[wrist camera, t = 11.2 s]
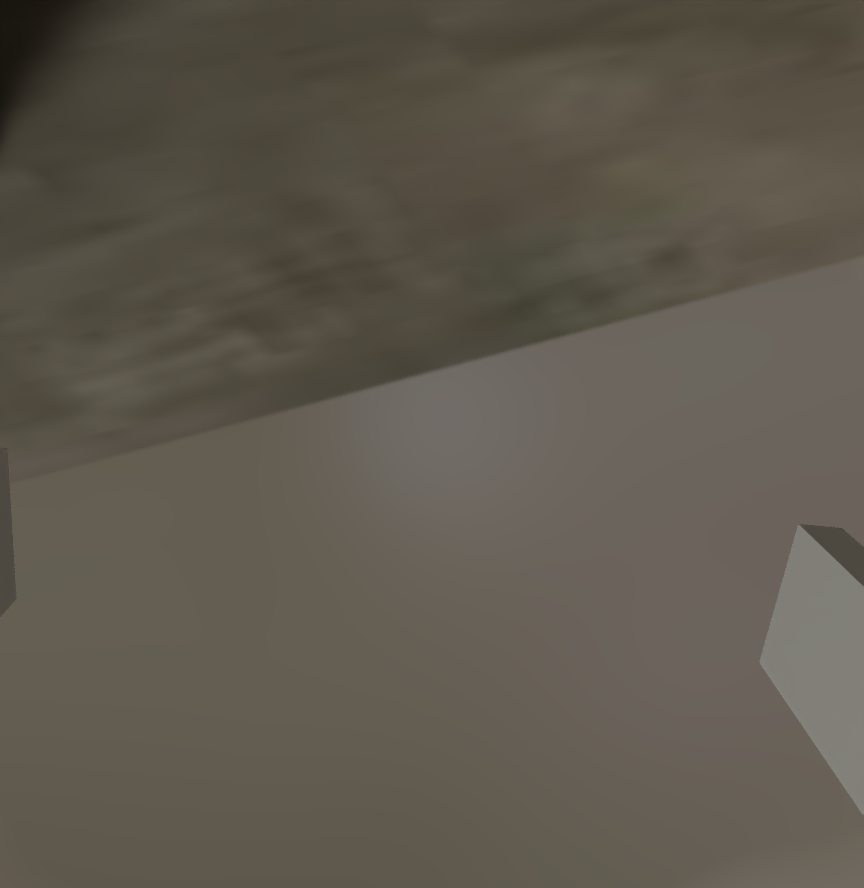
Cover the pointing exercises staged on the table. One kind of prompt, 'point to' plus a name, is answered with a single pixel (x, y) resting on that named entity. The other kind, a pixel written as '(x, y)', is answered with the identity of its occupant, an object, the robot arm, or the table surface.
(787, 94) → the table surface
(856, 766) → the robot arm
